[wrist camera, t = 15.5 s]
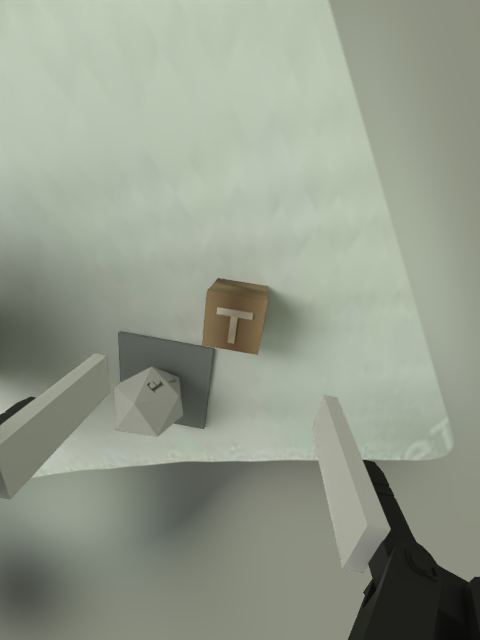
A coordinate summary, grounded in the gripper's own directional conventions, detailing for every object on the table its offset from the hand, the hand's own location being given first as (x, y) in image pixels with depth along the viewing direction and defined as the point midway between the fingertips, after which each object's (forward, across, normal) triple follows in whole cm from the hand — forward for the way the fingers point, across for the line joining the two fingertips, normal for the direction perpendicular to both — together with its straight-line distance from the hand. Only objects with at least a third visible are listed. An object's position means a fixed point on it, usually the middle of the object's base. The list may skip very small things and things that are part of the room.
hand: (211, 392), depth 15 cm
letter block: (+17, 0, 0) cm, 17 cm away
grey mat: (+17, -9, -14) cm, 23 cm away
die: (+16, -9, -13) cm, 23 cm away
